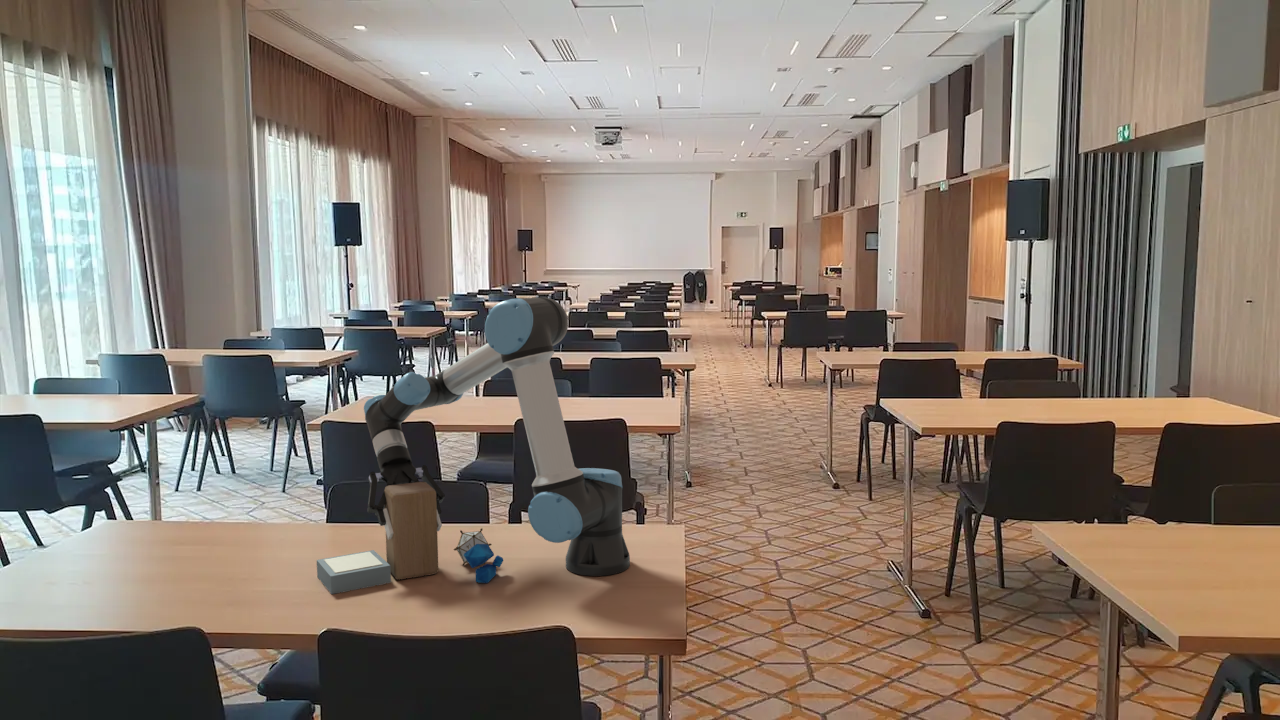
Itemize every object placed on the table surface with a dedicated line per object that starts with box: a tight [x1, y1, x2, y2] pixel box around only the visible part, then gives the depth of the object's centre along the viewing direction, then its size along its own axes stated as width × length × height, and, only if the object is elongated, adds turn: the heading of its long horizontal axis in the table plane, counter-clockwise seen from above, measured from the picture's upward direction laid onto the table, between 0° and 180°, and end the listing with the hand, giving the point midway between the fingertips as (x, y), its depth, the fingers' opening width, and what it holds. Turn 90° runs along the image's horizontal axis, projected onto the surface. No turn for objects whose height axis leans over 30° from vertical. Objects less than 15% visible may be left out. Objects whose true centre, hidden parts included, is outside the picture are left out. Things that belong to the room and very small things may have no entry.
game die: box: [453, 527, 492, 567], centre depth 215 cm, size 9×8×10 cm
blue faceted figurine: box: [464, 543, 504, 584], centre depth 203 cm, size 7×9×12 cm
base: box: [316, 549, 392, 595], centre depth 204 cm, size 13×13×4 cm
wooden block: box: [383, 481, 439, 581], centre depth 208 cm, size 10×10×20 cm
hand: (415, 532), depth 206 cm, fingers closed on wooden block, 10 cm apart
